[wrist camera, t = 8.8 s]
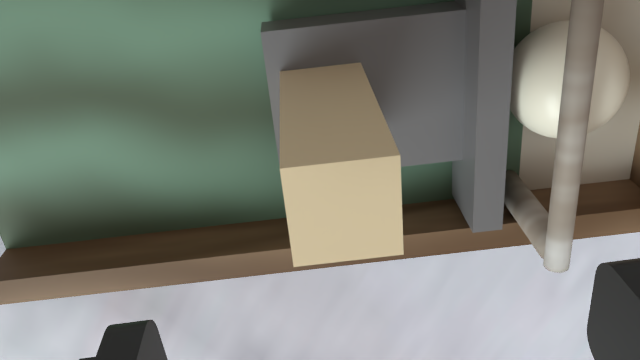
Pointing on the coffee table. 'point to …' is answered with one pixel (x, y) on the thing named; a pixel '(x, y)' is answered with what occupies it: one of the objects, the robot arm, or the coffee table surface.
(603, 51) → the ball
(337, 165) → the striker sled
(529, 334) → the coffee table surface
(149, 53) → the channel
